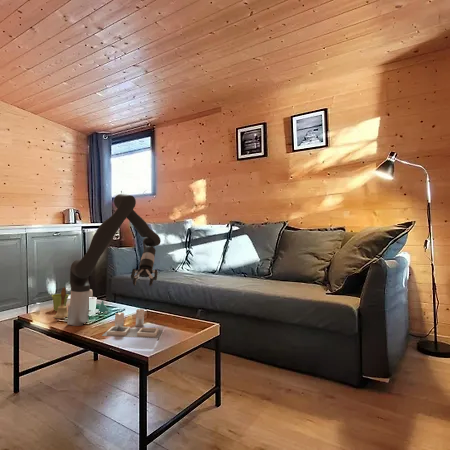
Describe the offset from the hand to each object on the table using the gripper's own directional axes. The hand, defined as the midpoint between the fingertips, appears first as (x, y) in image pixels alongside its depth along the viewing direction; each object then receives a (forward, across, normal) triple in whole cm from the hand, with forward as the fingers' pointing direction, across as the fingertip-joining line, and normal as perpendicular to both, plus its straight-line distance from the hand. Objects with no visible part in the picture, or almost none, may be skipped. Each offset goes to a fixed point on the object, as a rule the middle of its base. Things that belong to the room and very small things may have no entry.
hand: (142, 285), depth 192 cm
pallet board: (+31, +2, -3) cm, 31 cm away
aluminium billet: (+22, +2, +6) cm, 23 cm away
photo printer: (-2, -40, +30) cm, 50 cm away
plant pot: (+1, -52, +27) cm, 59 cm away
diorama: (+4, -22, +25) cm, 34 cm away
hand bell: (+12, -44, +16) cm, 49 cm away
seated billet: (+30, -5, -4) cm, 31 cm away
